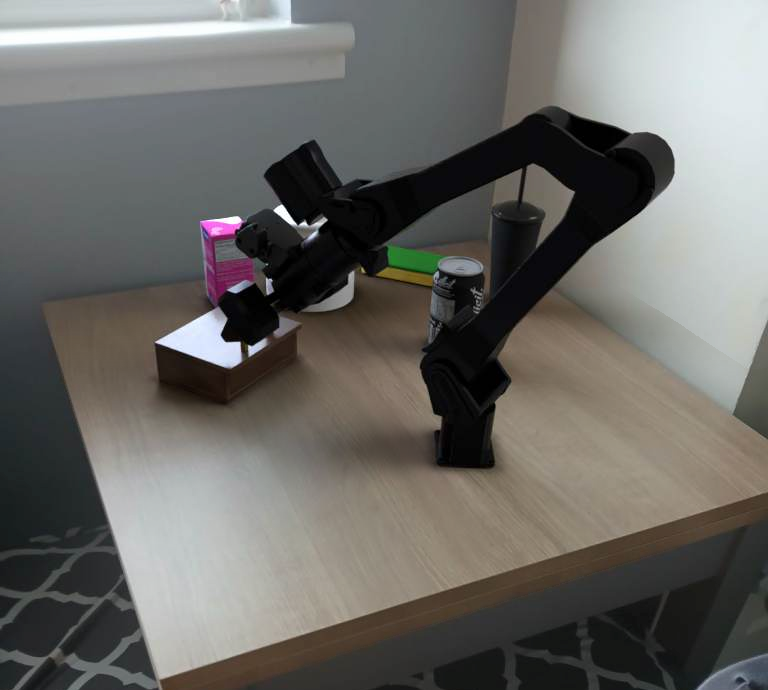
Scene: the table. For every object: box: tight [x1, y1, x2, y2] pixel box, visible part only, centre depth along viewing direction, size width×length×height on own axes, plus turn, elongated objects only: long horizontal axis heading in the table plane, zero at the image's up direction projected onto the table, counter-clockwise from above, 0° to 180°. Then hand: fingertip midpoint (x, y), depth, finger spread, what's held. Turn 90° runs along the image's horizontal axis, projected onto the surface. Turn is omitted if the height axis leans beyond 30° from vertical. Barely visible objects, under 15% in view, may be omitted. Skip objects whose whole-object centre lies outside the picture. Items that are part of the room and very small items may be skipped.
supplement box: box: [199, 215, 255, 309], centre depth 122 cm, size 6×6×12 cm
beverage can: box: [426, 255, 486, 345], centre depth 115 cm, size 7×7×12 cm
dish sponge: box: [361, 244, 447, 288], centre depth 137 cm, size 7×14×2 cm, turn 70°
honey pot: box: [265, 204, 355, 313], centre depth 125 cm, size 13×13×18 cm
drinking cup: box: [488, 166, 547, 302], centre depth 125 cm, size 8×8×20 cm
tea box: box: [154, 331, 298, 405], centre depth 110 cm, size 11×15×4 cm
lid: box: [154, 304, 303, 374], centre depth 107 cm, size 11×15×5 cm
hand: (247, 323), depth 106 cm, fingers open, 9 cm apart
